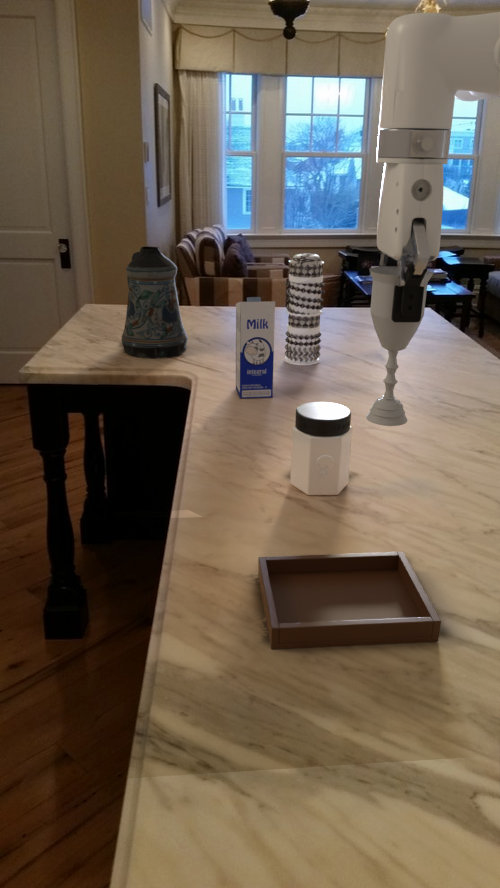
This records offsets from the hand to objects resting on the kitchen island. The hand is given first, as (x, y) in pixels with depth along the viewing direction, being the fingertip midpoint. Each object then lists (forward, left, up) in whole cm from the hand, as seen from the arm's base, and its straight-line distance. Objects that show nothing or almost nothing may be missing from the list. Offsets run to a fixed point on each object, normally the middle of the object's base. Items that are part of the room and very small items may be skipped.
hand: (397, 313), depth 82 cm
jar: (+5, -16, -30) cm, 34 cm away
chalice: (0, 0, -13) cm, 13 cm away
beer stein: (+34, -96, -30) cm, 106 cm away
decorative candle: (-3, -84, -30) cm, 89 cm away
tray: (+8, +15, -30) cm, 34 cm away
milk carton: (+11, -60, -30) cm, 68 cm away
